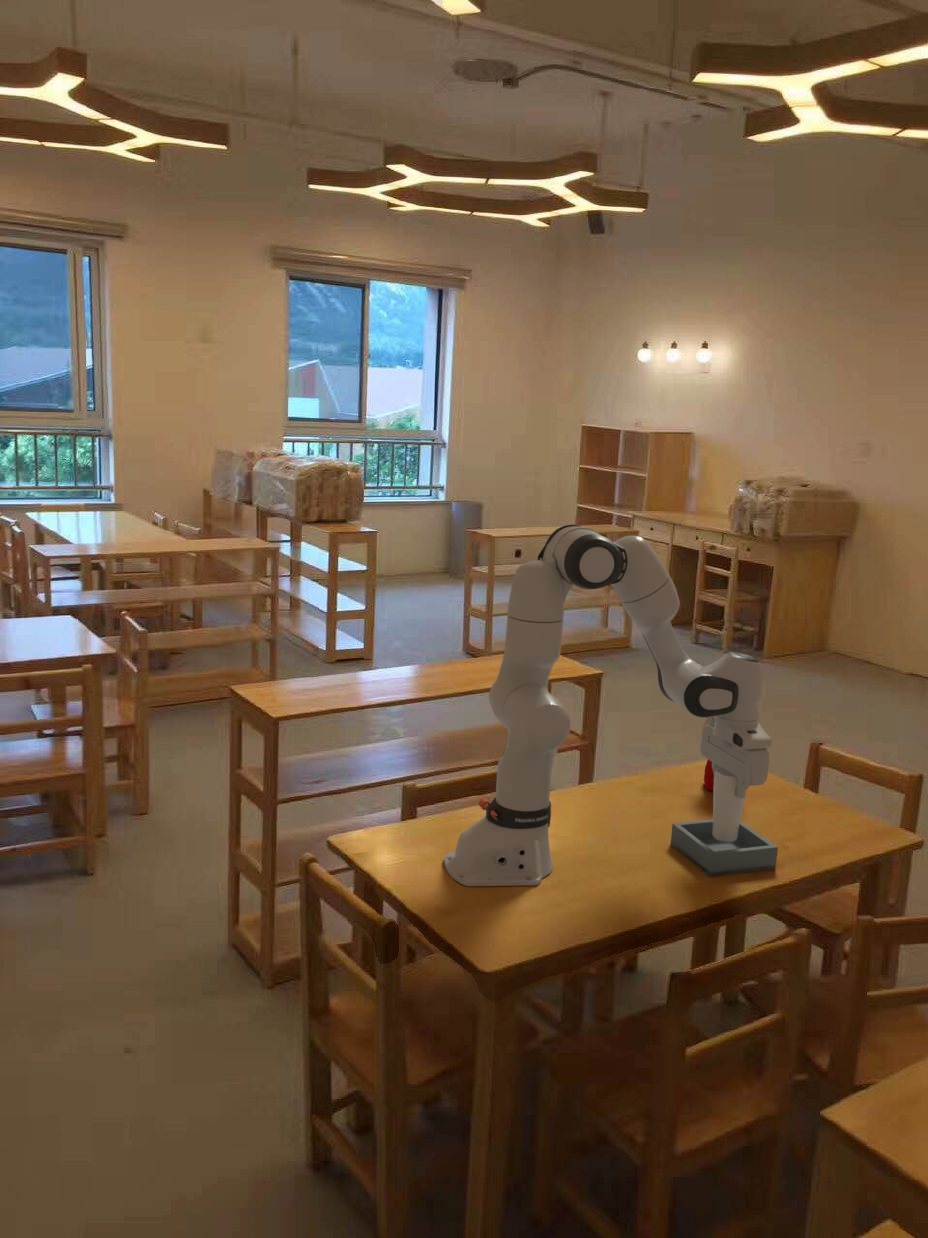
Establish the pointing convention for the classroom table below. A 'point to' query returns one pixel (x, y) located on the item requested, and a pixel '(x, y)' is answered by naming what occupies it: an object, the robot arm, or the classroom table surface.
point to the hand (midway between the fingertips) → (729, 790)
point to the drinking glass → (726, 806)
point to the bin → (723, 849)
